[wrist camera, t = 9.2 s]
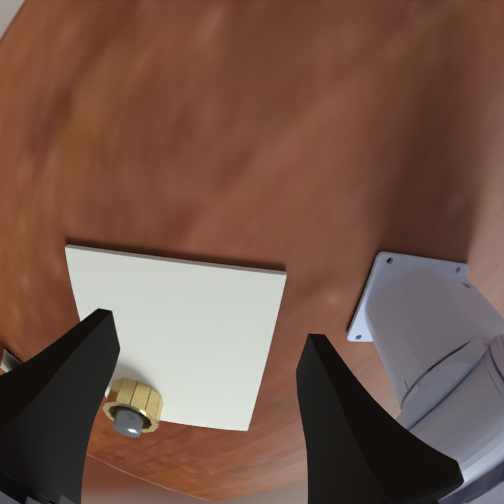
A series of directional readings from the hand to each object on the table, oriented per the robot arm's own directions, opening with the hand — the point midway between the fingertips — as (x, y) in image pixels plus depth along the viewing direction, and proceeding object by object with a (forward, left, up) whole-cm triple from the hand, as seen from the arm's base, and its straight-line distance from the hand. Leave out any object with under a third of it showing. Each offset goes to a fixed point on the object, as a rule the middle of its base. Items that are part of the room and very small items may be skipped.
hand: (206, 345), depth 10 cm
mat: (+4, +12, -9) cm, 16 cm away
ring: (+8, +18, -9) cm, 22 cm away
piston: (+8, +18, -9) cm, 22 cm away
